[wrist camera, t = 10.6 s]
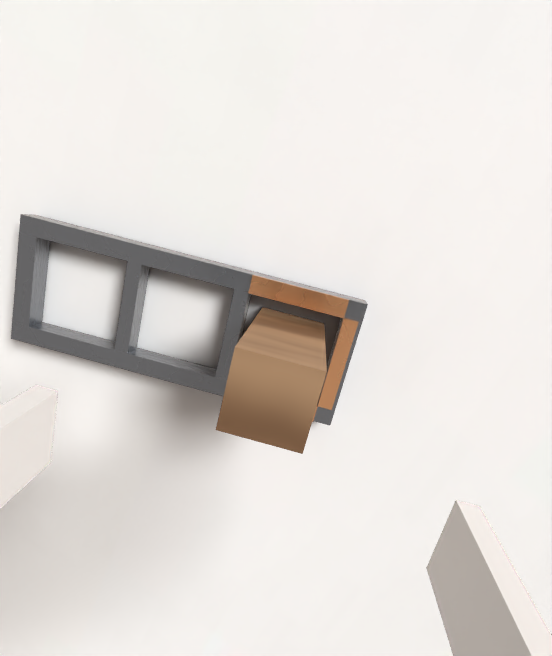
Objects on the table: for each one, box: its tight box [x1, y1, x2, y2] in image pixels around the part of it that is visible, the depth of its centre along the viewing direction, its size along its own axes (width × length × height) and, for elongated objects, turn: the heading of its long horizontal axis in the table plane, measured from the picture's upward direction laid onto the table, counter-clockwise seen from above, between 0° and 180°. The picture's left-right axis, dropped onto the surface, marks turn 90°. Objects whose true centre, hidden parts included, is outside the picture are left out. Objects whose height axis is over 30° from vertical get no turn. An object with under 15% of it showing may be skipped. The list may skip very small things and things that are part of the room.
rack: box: [11, 214, 368, 425], centre depth 29 cm, size 9×24×2 cm, turn 76°
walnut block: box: [216, 307, 327, 454], centre depth 25 cm, size 4×4×10 cm
